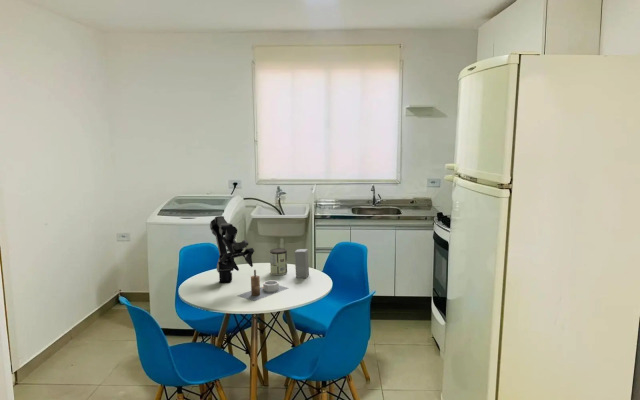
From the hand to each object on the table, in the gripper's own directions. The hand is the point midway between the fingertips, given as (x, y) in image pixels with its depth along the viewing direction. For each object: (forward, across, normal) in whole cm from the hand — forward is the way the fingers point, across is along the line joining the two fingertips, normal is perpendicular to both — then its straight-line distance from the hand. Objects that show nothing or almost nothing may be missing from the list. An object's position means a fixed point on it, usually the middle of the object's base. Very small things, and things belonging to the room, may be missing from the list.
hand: (245, 268), depth 229 cm
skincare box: (+11, +41, +8) cm, 43 cm away
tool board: (+15, +5, +4) cm, 16 cm away
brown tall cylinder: (+14, 0, +3) cm, 15 cm away
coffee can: (0, +36, +19) cm, 41 cm away
